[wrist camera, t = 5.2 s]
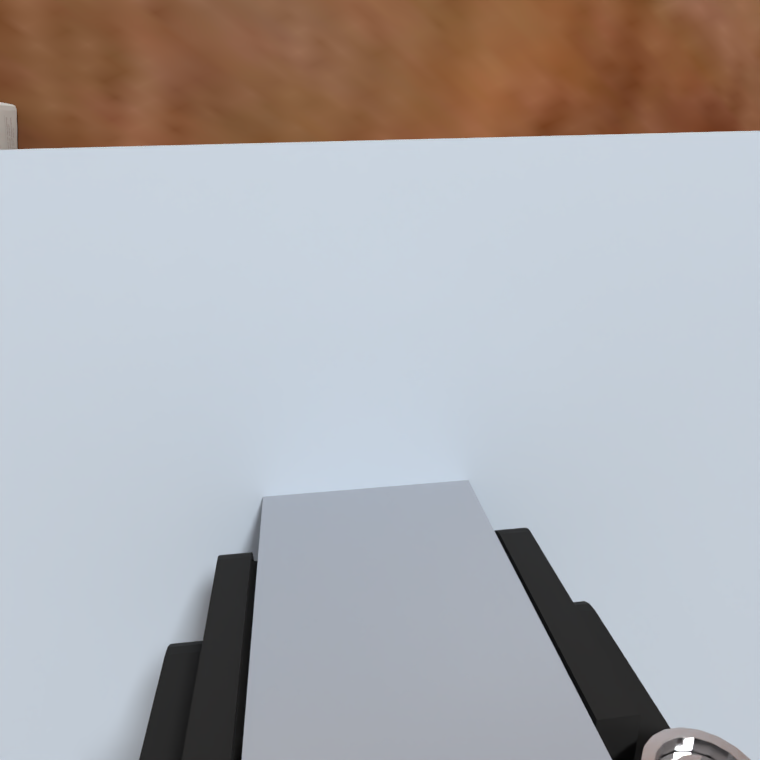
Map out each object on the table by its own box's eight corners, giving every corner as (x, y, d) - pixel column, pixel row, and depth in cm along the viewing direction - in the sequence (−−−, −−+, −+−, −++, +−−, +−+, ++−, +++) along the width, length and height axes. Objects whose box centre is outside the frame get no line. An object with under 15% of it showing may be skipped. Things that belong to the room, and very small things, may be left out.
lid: (893, 127, 12) (1666, 113, 5) (748, 764, 17) (1039, 1163, 10) (-310, 157, 10) (-1602, 198, 3) (-53, 872, 15) (-327, 1456, 8)
